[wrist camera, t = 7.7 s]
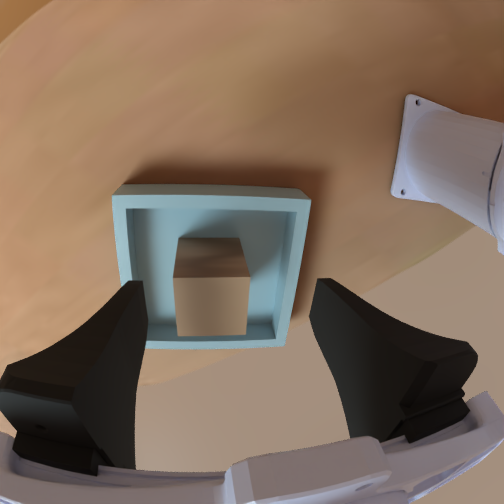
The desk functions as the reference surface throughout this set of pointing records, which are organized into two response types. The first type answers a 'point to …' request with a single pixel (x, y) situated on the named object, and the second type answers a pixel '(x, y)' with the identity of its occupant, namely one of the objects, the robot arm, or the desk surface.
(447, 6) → the desk surface
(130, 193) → the tray
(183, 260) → the walnut block
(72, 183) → the desk surface
